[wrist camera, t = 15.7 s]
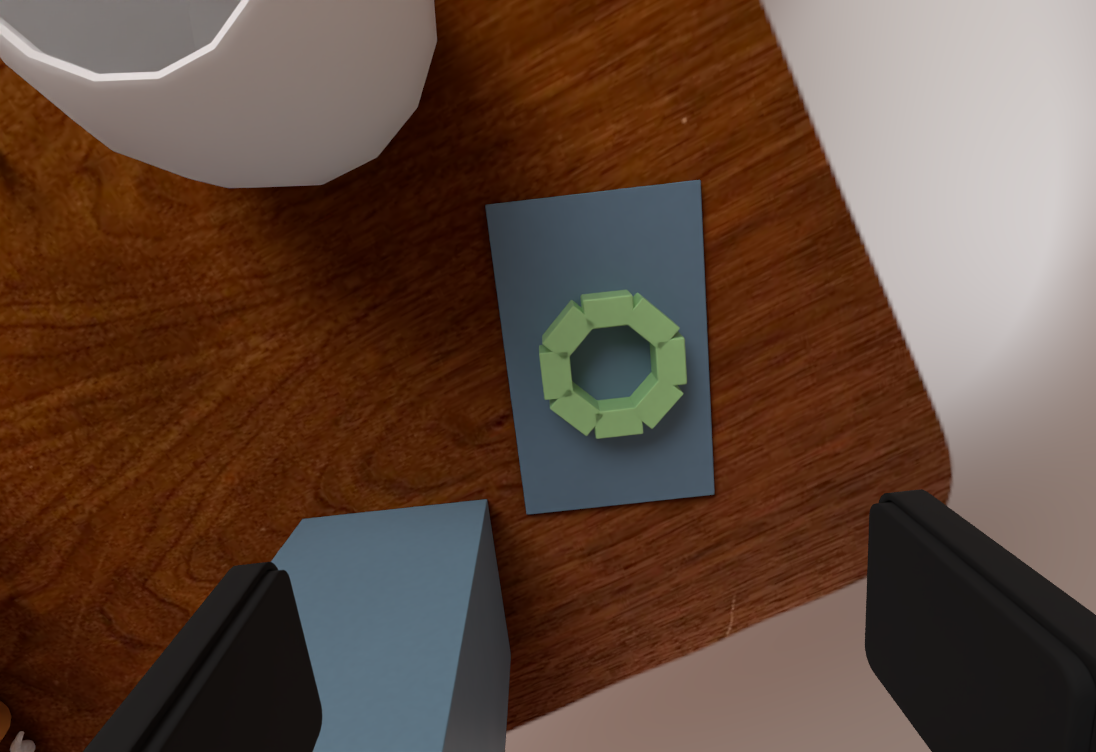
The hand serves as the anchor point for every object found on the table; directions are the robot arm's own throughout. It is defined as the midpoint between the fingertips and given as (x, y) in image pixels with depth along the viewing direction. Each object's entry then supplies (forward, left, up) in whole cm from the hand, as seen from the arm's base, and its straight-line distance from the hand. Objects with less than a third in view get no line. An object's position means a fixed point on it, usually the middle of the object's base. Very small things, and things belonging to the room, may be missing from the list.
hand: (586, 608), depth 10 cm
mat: (+2, -2, -22) cm, 22 cm away
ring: (+3, -2, -22) cm, 22 cm away
